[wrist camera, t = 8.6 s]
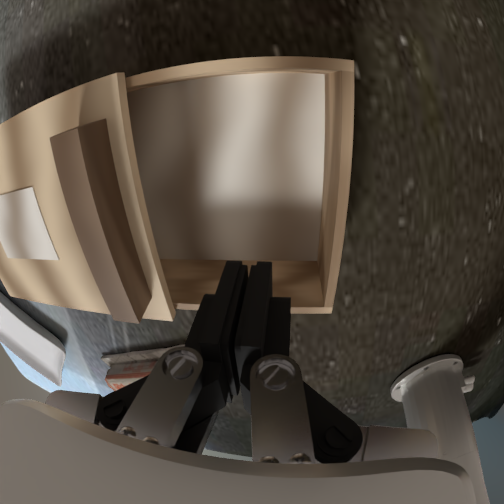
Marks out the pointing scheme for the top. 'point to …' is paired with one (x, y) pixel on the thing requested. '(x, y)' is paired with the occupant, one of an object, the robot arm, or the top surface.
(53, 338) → the salad plate
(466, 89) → the top surface
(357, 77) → the top surface
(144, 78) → the mailer box
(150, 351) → the packaged product
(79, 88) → the lid
